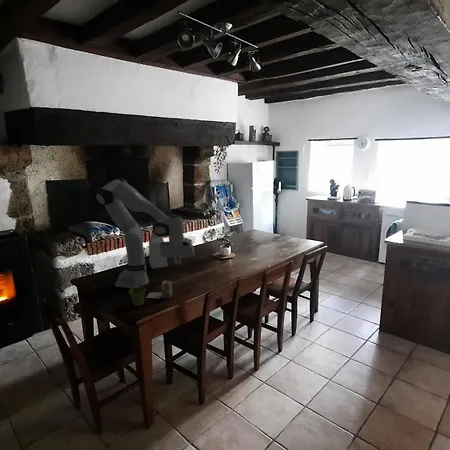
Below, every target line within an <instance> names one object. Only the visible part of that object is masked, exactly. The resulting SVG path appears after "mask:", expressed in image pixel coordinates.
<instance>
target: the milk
mask: <svg viewBox="0 0 450 450" xmlns="http://www.w3.org/2000/svg"><path fill="white" fill-rule="evenodd" d="M162 242H165V240H164V238H163V237H158V236H156V235H155V234H154V232H153V233H151V235H150V238H149V240H148V251H149V254H148V255H149V256H148V257H149V266H150V267H151V269H152V270H153V269H160V268H165V267H166V268H167V267H168V266H169V265H168V264H169V263H168V259H167V258H168V257H161V256H160V251H161V248H160V243H161V244H162Z"/></svg>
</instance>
